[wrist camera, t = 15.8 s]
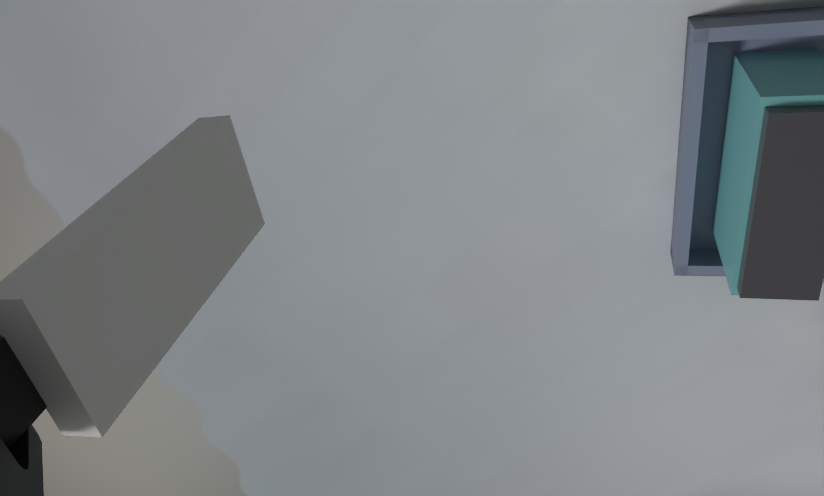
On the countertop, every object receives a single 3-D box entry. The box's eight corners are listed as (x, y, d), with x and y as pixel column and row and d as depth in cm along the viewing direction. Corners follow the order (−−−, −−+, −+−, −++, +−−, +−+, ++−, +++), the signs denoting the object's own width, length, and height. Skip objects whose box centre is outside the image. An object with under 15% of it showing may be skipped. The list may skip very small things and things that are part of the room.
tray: (688, 16, 41) (694, 29, 38) (870, 3, 38) (889, 15, 36) (670, 252, 49) (674, 275, 46) (819, 253, 46) (832, 277, 44)
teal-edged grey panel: (733, 53, 40) (764, 103, 33) (817, 48, 39) (870, 100, 32) (712, 228, 46) (734, 304, 39) (784, 229, 45) (821, 307, 38)
